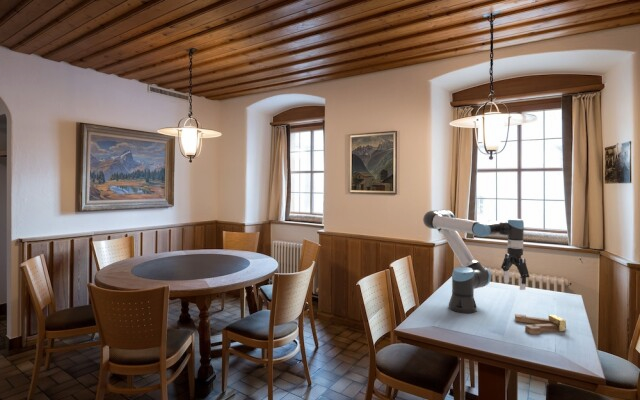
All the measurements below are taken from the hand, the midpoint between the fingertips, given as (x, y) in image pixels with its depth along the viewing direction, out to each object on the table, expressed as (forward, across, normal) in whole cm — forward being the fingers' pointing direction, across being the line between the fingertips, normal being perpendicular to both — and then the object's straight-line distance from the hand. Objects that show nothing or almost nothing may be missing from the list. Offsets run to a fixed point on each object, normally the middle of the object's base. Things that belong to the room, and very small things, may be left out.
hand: (514, 285), depth 194 cm
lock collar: (+16, +19, +10) cm, 27 cm away
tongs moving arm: (+16, +12, +6) cm, 21 cm away
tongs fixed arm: (+17, +21, +2) cm, 27 cm away
